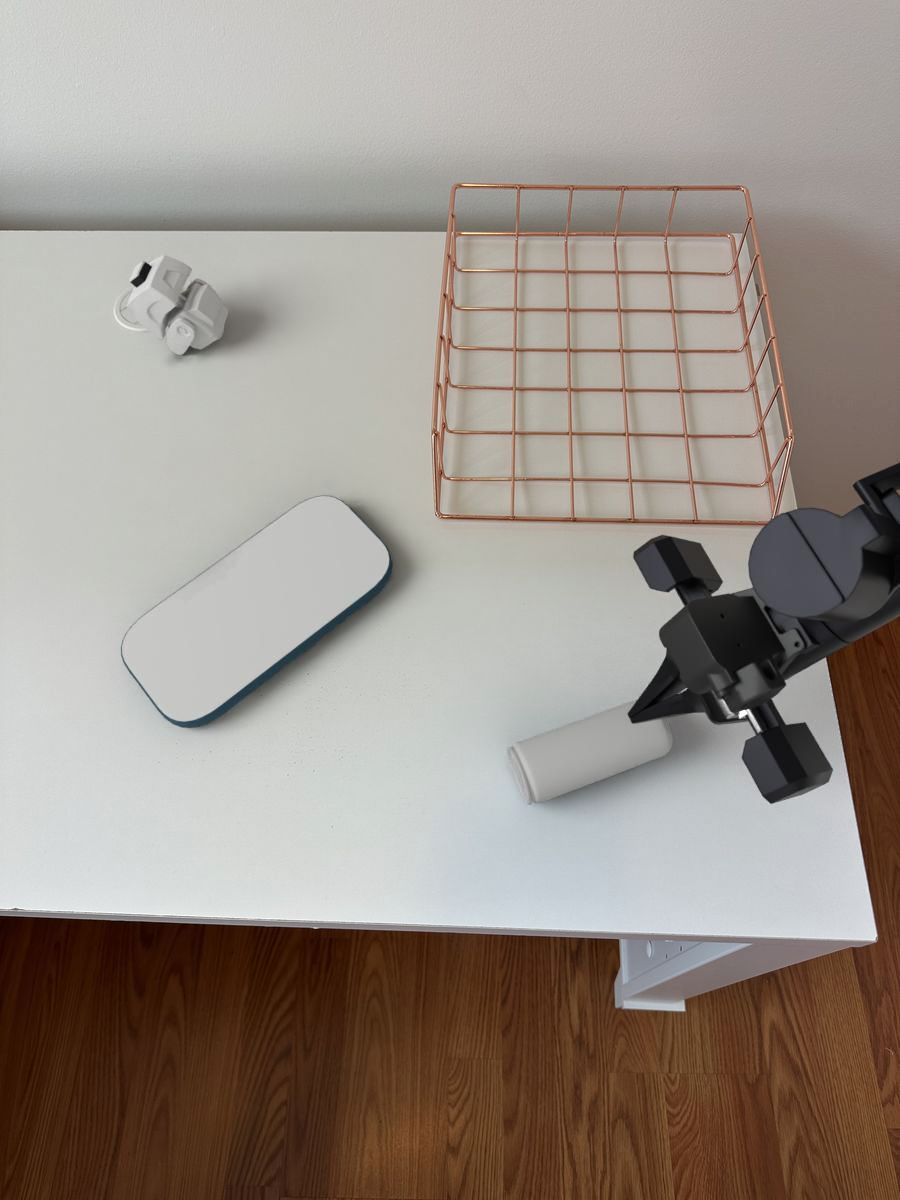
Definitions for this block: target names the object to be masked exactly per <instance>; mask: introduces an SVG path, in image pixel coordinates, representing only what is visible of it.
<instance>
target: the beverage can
mask: <svg viewBox="0 0 900 1200" xmlns="http://www.w3.org/2000/svg"><path fill="white" fill-rule="evenodd" d="M637 700H638V698H637V699H634V700H631V701H628V702H626V703H624V704H623V703H622V704H621V705H618V706H614V707H612V708H609V709H607V710H604V711H601V712H598V713H595V714H593V715H590V716H586V717H584V718H581V719H579V720H576V721H574V722H569V723H568V724H564V725H562V726H560V727H556V728H553V729H551V730H549V731H546V732H543V733H540V734H538V735H534V736H532V737H529V738H526V739H524V740H521V741H518V742H515V743H514V744H513V747H511V746H510V747H507V748H506V753H507V757H508V761H509V765H510V769H511V772H512V774H513V777H514V780H515V783H516V785H517V787H518V789H519V792H520V794H521V796H522V798H523V800H524V802H525V803H526V804H527V805H532V804H533V803H535V804H539V803H543V802H545V801H548V800H551V799H554V798H556V797H559V796H562V795H565V794H567V793H570V792H573V791H575V790H578V789H580V788H584V787H587V786H589V785H591V784H595V783H596V782H599V781H602V780H604V779H607V778H610V777H613V776H615V775H618V774H620V773H623V772H626V771H628V770H631V769H633V768H636V767H638V766H642V765H644V764H646V763H648V762H651V761H654V760H656V759H659V758H662V757H665V756H667V754H669V752H670V751H671V748H672V747H673V743H674V742H673V732H672V729H671V726H670V722H669V721H668V718H664V719H659V720H654V721H648V722H643V723H637V724H632V723H631V721H630V718H629V717H628V712H629V711H630V709H631V708H632V707H633V705H634V704H635V702H636V701H637Z"/></svg>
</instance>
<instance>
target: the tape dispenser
mask: <svg viewBox="0 0 900 1200" xmlns="http://www.w3.org/2000/svg"><path fill="white" fill-rule="evenodd" d="M192 271H193V269H192V267H191V266H190V265H188V264H187V263H184V262H183V261H181V260H178V259H177V258H174V257H171V256H169V255H167V254H166V255H165V254H163V255H161V256H158V257H156V258H154V259H152V261H150V262H149V263H148V262H146V261H145V260H142V261H141V262H140V263H138V264H136V265H135V267H134V269H133V271H132V273H131V275H130V278H129V280H128V282H129V283H130V284H132V285H133V286H134V287H133V289H132V291H131V294H130V296H129V299H128V301H127V304H126V308H127V310H129V312H130V313H131V314H132V315H133V317H134V318H135V320H136V321H138V323H139V324H140V325H141V326H142V327H143V328H144V329H145V330H146V331H148V332H149V333H150V334H151V335H152V336H154V337H155V338H156V339H158V340H161V341H163V340H164V338H165V336H166V344H167V346H168V348H169V351H170V352H171V353H173V354H176V355H178V356H183V355H184V354H185V353H186V351H188V349H189V348H190V347H191V348H193V349H196V350H204V349H205V348H207V347H208V346H210V345H211V344H213V343H214V342H215V341H218V340H220V339H221V338H222V337H223V335H224V333H225V325H226V324H225V323H226V320H227V318H228V315H229V313H230V312H229V309H228V307H227V305H226V304H225V303H224V302H223V300H222V298H221V296H220V295H219V294H218V293H217V292H216V290H215V289H214V288H213V287H212V285H210V284H209V283H208V282H206V281H205V280H203V279H200V278H195V279H193V280H192V281H191V282H190V283H189V284H188V286H187V287H186V289H185V290H184V291H183V289H184V287H185V284H186V282H187V280H188V277H190V275H191V273H192ZM182 291H183V292H182ZM167 328H168V330H167V332H166V329H167Z"/></svg>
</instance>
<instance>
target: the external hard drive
mask: <svg viewBox="0 0 900 1200" xmlns="http://www.w3.org/2000/svg"><path fill="white" fill-rule="evenodd" d="M393 567H394V562H393V557H392V554H391V551H390V550H389V548H388V546H387V545H386V544H385V543H384V541H383V540H382V539H381V537H379V535H377V533H375V531H374V530H372V528H371V527H370V526H369V525H368V524H367V523H366V522H365V521H364V520H363V518H361V517H360V516H359V514H358V513H356V512H355V511H354V510H353V509H352V508H351V507H350V506H349V505H348V504H347V503H346V502H345V501H344V500H342V499H340V498H338V497H335V496H333V495H324V494H323V495H316V496H313V497H310V498H307V499H305V500H303V501H301V502H299V503H297V504H296V505H294V506H293V507H292V508H289V509H288V510H287V511H286V512H284V513H283V514H281V515H280V516H279V517H276V519H275V520H273V521H271V522H270V523H269V524H267V525H266V526H265V527H263V528H262V529H261V530H259V531H258V532H256V533H255V534H254V535H252V536H251V537H250V538H248V539H246V540H245V541H244V542H242V543H241V544H240V545H238V546H237V547H236V548H234V549H233V550H232V551H230V552H229V553H227V554H226V555H225V556H223V557H222V558H220V559H219V560H217V561H216V562H214V564H212V565H210V566H209V567H208V568H206V569H205V570H204V571H202V572H201V573H199V574H198V575H196V576H195V577H194V578H192V579H191V580H189V582H186V583H185V584H184V585H183V586H182V587H180V588H178V589H177V590H176V591H175V592H173V593H172V594H170V595H169V596H167V597H166V598H165V599H163V600H162V601H160V602H159V603H157V604H156V605H155V606H153V607H152V608H151V609H149V610H147V612H145V613H143V615H142V616H140V617H139V618H138V619H137V620H135V622H134V623H133V624H132V625H131V626H130V627H129V628H128V629H127V631H126V633H125V634H124V636H123V638H122V641H121V645H120V656H121V659H122V662H123V665H124V666H125V668H126V669H127V671H128V672H129V674H130V676H132V678H133V679H134V681H135V682H136V683H137V684H138V686H139V688H140V689H141V690H142V691H143V693H144V694H145V695H146V697H147V698H148V699H149V701H150V702H151V703H152V705H153V706H154V707H155V709H156V710H157V711H158V713H159V714H161V716H162V717H163V718H164V719H165V720H166V721H167V722H169V723H171V724H172V725H173V726H177V727H179V728H182V729H194V728H200V727H202V726H205V725H208V724H210V723H212V722H214V721H215V720H217V719H218V718H220V717H222V716H224V714H226V713H228V712H229V711H230V710H231V709H233V708H234V707H235V706H236V705H238V704H239V703H240V702H241V701H242V700H244V699H245V698H246V697H248V696H249V695H251V694H252V693H253V692H255V691H256V690H257V689H258V688H260V687H261V686H262V685H263V684H265V683H266V682H268V681H269V680H270V679H271V678H273V677H274V676H276V674H278V673H279V672H280V671H281V670H283V669H284V668H285V667H287V666H288V665H289V664H291V663H292V662H293V661H295V660H296V659H297V658H298V657H299V656H301V655H302V654H303V653H304V652H306V651H307V650H308V649H310V648H311V647H312V646H314V645H316V643H317V642H319V641H320V640H322V639H323V638H324V637H325V636H327V635H328V634H329V633H330V632H332V631H333V630H335V628H337V627H339V626H340V624H342V623H344V622H345V621H346V620H347V619H348V618H350V617H351V616H352V615H353V614H355V613H356V612H358V611H359V610H360V609H361V608H362V607H364V606H365V605H367V604H368V603H369V602H370V601H371V600H373V599H374V598H375V597H376V596H378V595H379V594H380V592H381V591H382V590H384V588H385V587H386V586H387V584H388V582H389V581H390V580H391V576H392V573H393V569H394V568H393Z"/></svg>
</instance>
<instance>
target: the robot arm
mask: <svg viewBox="0 0 900 1200" xmlns="http://www.w3.org/2000/svg"><path fill="white" fill-rule="evenodd" d="M852 488H853V490H854V491H855V492H856V494H857V495H858V497H859V498H860V500H861V501H862V502H863V503H862V504H859V505H857V506H856V507H854V508H852V509H851V510H850V511H848V512H846V513H845V514H844V515H840V514H839V513H836V512H832V511H830V510H827V509H823V508H817V507H802V508H801V507H800V508H796V509H792V510H790V511H786V512H781V513H780V514H778V515H776V516H774V517H772V518H771V519H770V520H769V521H768V522H767V523H766V524H765V525H764V526H763V527H761V529H760V531H759V532H758V533H757V535H756V537H755V538H754V540H753V542H752V545H751V547H750V550H749V555H748V561H747V567H748V577H749V580H750V583H751V587H750V588H747V589H746V588H745V589H742V590H738V591H735V592H730V593H724V594H718V595H713V594H714V593H716V592H717V591H720V588H721V586H722V584H723V583H724V581H723V579H722V577H721V576H720V574H719V572H718V571H717V568H716V567H715V565H714V564H713V562H712V560H711V558H710V557H709V555H708V554H707V552H706V550H705V548H704V546H703V545H702V543H701V542H697V541H692V540H690V539H689V540H688V539H684V538H680V537H676V536H672V535H668V534H667V535H666V534H660V535H658V536H655V537H652V538H650V539H648V540H647V541H645V543H643V544H642V545H641V546H640V547H638V548H637V549H635V550H634V551H633V554H632V555H633V556H632V559H633V560H634V562H635V565H636V566H637V568H638V570H639V571H640V573H641V575H642V577H643V579H644V580H645V583H646V585H647V586H648V588H649V589H650V590H654V591H659V592H661V593H670V592H671V591H673V590H675V592H676V594H677V595H678V597H679V599H680V601H681V603H682V605H683V607H682V608H681V609H680V610H679V611H677V612H676V613H675V614H674V615H673V616H672V617H671V618H670V619H669V620H668V621H666V622H665V623H664V624H663V625H662V626H661V627H660V628H659V630H658V638H659V640H660V642H661V644H662V646H663V648H665V649H666V651H665V657H664V659H663V660H662V663H661V664H660V666H659V667H658V670H657V672H656V673H655V675H654V676H653V677H652V679H651V681H650V682H649V683H648V685H646V687H645V689H644V690H643V691H642V693H641V694H640V695H639V696H638V698H637V699H638V700H637V699H636V700H637V701H636V702H635V704H634V705H633V707H632V708H631V709H630V711H629V712H628V717H629V718H630V721H631V723H632V724H637V723H643V722H648V721H654V720H659V719H664V718H667V719H669V718H674V717H679V716H684V715H690V714H698V713H701V714H702V713H704V714H705V715H706V717H707V719H708V720H709V721H710V722H711V723H712V724H714V725H715V726H723V725H732V724H739V723H747V722H748V723H749V726H750V727H751V728H752V730H753V732H754V734H755V735H754V736H752V737H750V738H748V739H746V740H745V742H744V746H743V750H742V754H741V760H742V761H743V763H744V765H745V767H746V769H747V771H748V772H749V775H750V776H751V778H752V780H753V782H754V784H755V785H756V787H757V789H758V791H759V793H760V794H761V796H762V798H764V800H765V801H767V802H768V803H769V804H770V805H773V804H775V803H780V802H782V801H786V800H790V799H793V798H796V797H800V796H803V795H805V794H808V793H809V792H811V791H813V790H816V789H818V788H820V787H822V786H825V785H826V784H828V783H829V782H830V780H831V777H832V774H833V771H834V768H833V766H832V765H831V763H830V761H829V760H828V758H827V757H826V754H825V753H824V751H823V750H822V748H821V746H820V744H819V743H818V741H817V739H816V738H815V736H814V734H813V733H812V731H811V728H810V727H809V726H808V724H807V722H805V721H804V722H796V723H789V724H786V722H785V720H784V719H783V717H782V715H781V713H780V712H779V710H778V709H777V707H776V705H775V702H774V700H773V698H775V697H776V696H778V695H779V694H780V693H781V692H782V690H783V689H784V688H785V687H786V686H787V683H786V681H787V680H789V679H790V678H792V677H793V676H795V675H797V674H799V673H801V672H802V671H804V670H806V669H808V668H810V667H812V666H813V665H815V664H816V663H819V662H820V661H822V660H824V659H826V658H828V657H829V656H831V655H833V654H835V653H837V652H839V651H840V650H843V649H844V648H846V647H847V646H849V645H851V644H852V643H855V642H856V641H858V640H859V639H862V638H864V637H865V636H867V635H868V634H870V633H872V632H875V630H877V629H879V628H881V627H883V626H884V625H887V624H889V623H890V622H892V621H894V620H895V619H897V618H899V617H900V494H899V493H898V492H897V491H900V462H897V463H895V464H893V465H891V466H888V467H886V468H884V469H880V470H879V471H877V472H874V473H872V474H870V475H869V474H868V475H867V476H865V477H862V478H860V479H858V480H856V481H855V482H854V483H853V484H852Z"/></svg>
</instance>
